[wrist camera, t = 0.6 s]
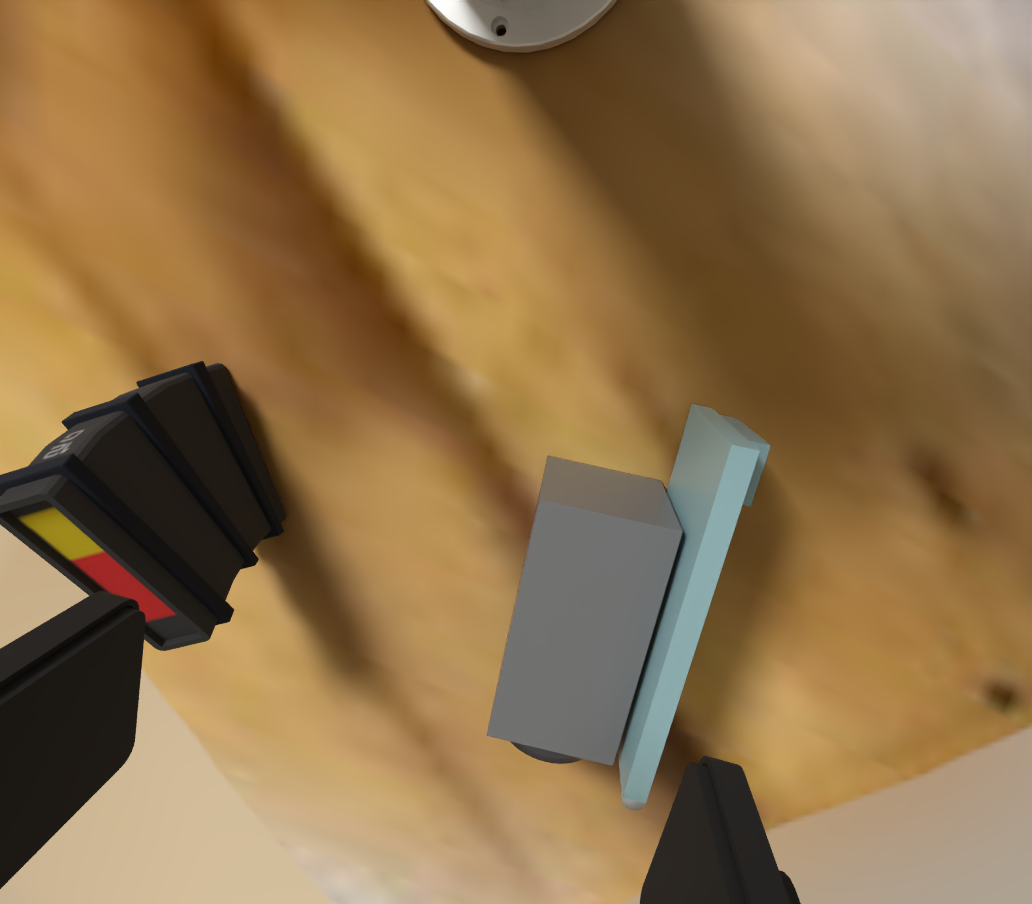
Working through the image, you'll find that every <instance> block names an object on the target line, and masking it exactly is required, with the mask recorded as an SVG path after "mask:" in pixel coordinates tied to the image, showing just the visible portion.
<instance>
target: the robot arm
mask: <svg viewBox="0 0 1032 904" xmlns="http://www.w3.org/2000/svg"><path fill="white" fill-rule="evenodd" d="M425 1H426V3H427V4H428V5H429V6H430V7H431V9H432V10H433V11H434V12H435V13H436V14H437V16H438V17H439V18H440V19H441V20H442V21H443V22H444V23H445V24H447V25H448V26H449V27H450V28H452V29H453V30H454V31H455V32H457V33H458V34H459V35H461V36H462V37H464V38H466V39H468V40H470V41H472V42H474V43H476V44H478V45H480V46H483V47H487V48H491V49H495V50H499V51H503V52H525V53H528V52H533V51H538V50H544V49H549V48H552V47H555V46H557V45H559V44H562V43H564V42H567V41H569V40H571V39H574V38H575V37H577V36H578V35H579V34H581V33H582V32H584V31H585V30H587V29H588V28H590V27H591V26H593V25H594V24H595V23H596V22H597V21H598V20H599V19H600V18H601V17H602V16H603V15H604V14H605V13H606V12H607V11H608V10H610V9H611V8H612V7H613V5H614V4H615V3H616V1H617V0H425ZM501 28H504V29H505V30H506V34H504V35H503V36H498V35H497V32H498V30H499V29H501ZM145 622H146V618H145V614H144V612H142V611H139V605H138V602H137V601H135V600H134V599H130V598H127V597H123V596H119V595H116V594H112V593H108V592H105V591H99V592H96V593H94V594H92V595H90V596H89V597H87V598H85V599H84V600H82V601H80V602H79V603H77V604H75V605H74V606H72V607H70V608H68V609H67V610H65V611H63V612H62V613H60V614H58V615H57V616H55V617H53V618H52V619H50V620H48V621H47V622H45V623H43V624H41V625H40V626H38V627H36V628H35V629H33V630H31V631H30V632H28V633H26V634H25V635H23V636H21V637H19V638H18V639H16V640H15V641H13V642H11V643H9V644H8V645H6V646H4V647H3V648H1V649H0V889H1V888H2V887H3V886H4V885H5V884H6V883H7V882H8V880H10V879H11V878H12V877H13V876H14V875H15V874H16V872H18V871H19V870H20V869H21V868H22V867H23V866H24V865H25V864H26V863H27V862H28V861H29V859H31V858H32V856H34V855H35V854H36V853H37V851H38V850H39V849H41V848H42V847H43V845H44V844H45V843H46V842H47V841H48V840H49V839H50V838H51V837H52V836H53V835H54V834H55V833H56V832H57V831H58V830H59V829H60V828H61V827H62V826H63V825H64V824H65V823H66V822H67V821H68V820H69V819H70V818H71V817H72V816H73V815H74V814H75V813H76V812H77V811H78V810H79V809H80V808H81V807H82V806H83V805H84V804H85V803H86V802H87V801H88V800H89V799H90V798H91V797H92V796H93V795H94V794H95V793H96V792H97V791H98V790H99V789H100V788H101V787H102V786H103V785H104V784H105V783H106V782H107V781H108V780H109V779H110V778H111V777H112V776H113V775H114V774H115V773H116V772H117V771H118V770H119V769H120V768H121V767H122V766H123V764H124V763H125V762H126V760H127V759H128V757H129V755H130V754H131V752H132V749H133V746H134V742H135V734H136V723H137V711H138V700H139V688H140V678H141V667H142V655H143V644H144V633H145ZM640 904H801V903H800V901H799V898H798V895H797V893H796V890H795V888H794V885H793V884H792V882H791V879H790V878H789V877H788V876H787V875H786V874H785V873H784V872H783V871H779V870H778V867H777V864H776V861H775V858H774V856H773V853H772V850H771V847H770V844H769V841H768V839H767V836H766V833H765V830H764V827H763V824H762V822H761V819H760V816H759V813H758V810H757V807H756V805H755V802H754V799H753V796H752V793H751V791H750V788H749V785H748V782H747V779H746V776H745V774H744V771H743V769H742V767H741V766H739V765H737V764H733V763H730V762H726V761H723V760H719V759H715V758H712V757H708V756H704V757H702V759H701V760H700V762H699V764H697V763H694V762H690V763H689V764H688V766H687V768H686V771H685V773H684V776H683V779H682V782H681V784H680V787H679V790H678V792H677V795H676V798H675V800H674V803H673V806H672V809H671V811H670V814H669V817H668V819H667V822H666V825H665V827H664V830H663V833H662V836H661V838H660V841H659V844H658V846H657V849H656V852H655V854H654V857H653V860H652V863H651V865H650V868H649V871H648V873H647V876H646V879H645V881H644V884H643V887H642V891H641V897H640Z"/></svg>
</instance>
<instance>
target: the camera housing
mask: <svg viewBox="0 0 1032 904" xmlns="http://www.w3.org/2000/svg"><path fill="white" fill-rule="evenodd" d="M682 532H683V531H682V529H681V526H680V524H679V522H678V519H677V517H676V514H675V512H674V510H673V507H672V505H671V503H670V500H669V498H668V496H667V493H666V491H665V489H664V486H663V484H662V482H661V481H660V480H656V479H651V478H647V477H642V476H638V475H633V474H629V473H624V472H620V471H615V470H610V469H606V468H601V467H597V466H592V465H588V464H583V463H579V462H574V461H570V460H565V459H561V458H556V457H551V456H548V457H547V461H546V466H545V470H544V475H543V479H542V484H541V488H540V493H539V497H538V502H537V506H536V511H535V515H534V520H533V524H532V529H531V533H530V538H529V542H528V547H527V551H526V556H525V560H524V565H523V569H522V573H521V578H520V582H519V587H518V591H517V596H516V600H515V605H514V609H513V614H512V618H511V623H510V627H509V632H508V636H507V641H506V645H505V650H504V654H503V659H502V664H501V669H500V674H499V678H498V683H497V688H496V693H495V698H494V703H493V707H492V712H491V717H490V722H489V727H488V732H487V736H490V737H494V738H499V739H503V740H507V741H510V742H511V743H512V744H513V745H514V746H515V747H517V748H518V749H519V750H520V751H522V752H524V753H525V754H527V755H529V756H531V757H533V758H536V759H538V760H541V761H545V762H550V763H558V764H563V763H572V762H576V761H579V760H581V759H585V760H589V761H594V762H598V763H602V764H606V765H610V766H613V763H614V760H615V757H616V753H617V750H618V747H619V743H620V740H621V737H622V733H623V730H624V727H625V723H626V720H627V717H628V713H629V710H630V706H631V703H632V700H633V696H634V693H635V690H636V686H637V683H638V680H639V676H640V673H641V670H642V666H643V663H644V660H645V656H646V653H647V650H648V646H649V643H650V640H651V636H652V633H653V629H654V626H655V623H656V619H657V616H658V613H659V609H660V606H661V603H662V599H663V596H664V593H665V589H666V586H667V583H668V579H669V576H670V573H671V569H672V566H673V562H674V559H675V556H676V552H677V549H678V546H679V542H680V539H681V536H682Z"/></svg>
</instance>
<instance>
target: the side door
mask: <svg viewBox="0 0 1032 904" xmlns="http://www.w3.org/2000/svg"><path fill="white" fill-rule="evenodd" d="M770 447H771V445H770V444H768V443H767V442H766V441H765V440H763V439H762V438H761V437H760V436H759V435H757V434H756V433H755V432H754V431H752V430H751V429H750V428H749V427H748V426H746V425H745V424H744V423H743V422H742V421H740V420H739V419H738V418H734V417H729V416H725V415H720V414H718V413H717V412H716V411H715V410H714V409H713V408H709V407H704V406H700V405H695V404H692V405H691V408H690V412H689V415H688V419H687V423H686V426H685V430H684V433H683V437H682V440H681V444H680V447H679V451H678V454H677V458H676V461H675V465H674V468H673V472H672V475H671V479H670V482H669V486H668V489H667V496H668V498H669V500H670V503H671V505H672V507H673V510H674V512H675V514H676V517H677V519H678V522H679V524H680V526H681V529H682V531H683V532H682V536H681V539H680V542H679V546H678V549H677V552H676V556H675V559H674V562H673V566H672V569H671V573H670V576H669V579H668V583H667V586H666V589H665V593H664V596H663V599H662V603H661V606H660V609H659V613H658V616H657V619H656V623H655V626H654V629H653V633H652V636H651V640H650V643H649V646H648V650H647V653H646V656H645V660H644V663H643V666H642V670H641V673H640V676H639V680H638V683H637V686H636V690H635V693H634V696H633V700H632V703H631V706H630V710H629V713H628V717H627V720H626V723H625V727H624V730H623V733H622V737H621V740H620V743H619V747H618V757H619V768H620V780H621V792H622V802H623V804H624V806H625V807H626V808H628V809H630V810H639V809H641V808H643V807H644V806H645V804H646V801H647V798H648V795H649V792H650V789H651V786H652V782H653V779H654V776H655V773H656V770H657V767H658V764H659V761H660V758H661V755H662V752H663V749H664V745H665V742H666V739H667V736H668V733H669V730H670V727H671V724H672V721H673V718H674V715H675V711H676V708H677V705H678V702H679V699H680V696H681V693H682V690H683V687H684V684H685V681H686V677H687V674H688V671H689V668H690V665H691V662H692V659H693V656H694V653H695V650H696V647H697V644H698V640H699V637H700V634H701V631H702V628H703V625H704V622H705V619H706V616H707V613H708V610H709V606H710V603H711V600H712V597H713V594H714V591H715V588H716V585H717V582H718V579H719V576H720V573H721V569H722V566H723V563H724V560H725V557H726V554H727V551H728V548H729V545H730V542H731V539H732V535H733V532H734V529H735V526H736V523H737V520H738V517H739V514H740V511H741V508H742V505H745V506H749V507H751V505H752V502H753V499H754V496H755V493H756V489H757V486H758V483H759V480H760V477H761V474H762V471H763V468H764V465H765V462H766V459H767V456H768V453H769V450H770Z"/></svg>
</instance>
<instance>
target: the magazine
mask: <svg viewBox="0 0 1032 904" xmlns="http://www.w3.org/2000/svg"><path fill="white" fill-rule="evenodd" d="M136 383H137V385H138V387H139V388H138V389H135V390H133V391H130V392H127V393H125V394H122V395H120V396H118V397H116V398H115V399H113V400H112V401H108V402H105V403H102V404H99V405H96V406H93V407H90V408H87V409H83V410H80V411H77V412H74V413H73V414H71V415H70V416H69V417H67V418H66V419H64V420H63V421H62V423H63V425H64V426H65V427H66V428H67V429H68V431H66V432H65V433H64V434H62V435H61V436H59V437H58V438H57V439H55V440H54V441H52V442H51V443H50V444H48V445H47V446H46V447H45V448H44V449H43V450H42V451H41V452H40V453H39V455H38V456H37V457H36V458H35V459H34V460H33V461H32V462H31V463H30V465H29V466H28V467H25V468H22V469H18V470H15V471H12V472H9V473H5V474H2V475H0V525H2V526H3V527H4V528H6V529H7V530H8V531H9V532H10V533H12V534H13V535H14V536H16V537H17V538H18V539H19V540H21V541H22V542H23V543H24V544H26V545H27V546H28V547H29V548H30V549H32V550H33V551H34V552H36V553H37V554H38V555H39V556H40V557H42V558H43V559H44V560H45V561H47V562H48V563H49V564H51V565H52V566H53V567H54V568H56V569H57V570H58V571H59V572H61V573H62V574H63V575H64V576H66V577H67V578H68V579H69V580H71V581H72V582H73V583H74V584H76V585H77V586H78V587H79V588H81V589H82V590H83V591H84V592H86V593H87V594H88V595H89V596H90V595H92V594H94V593H96V592H99V591H105V592H108V593H112V594H116V595H119V596H123V597H127V598H130V599H134V600H135V601H137V602H138V605H139V611H142V612H144V614H145V618H146V622H145V633H144V639H145V640H146V641H147V642H148V643H150V644H151V645H152V646H153V647H155V648H156V649H158V650H160V651H167V650H171V649H175V648H179V647H184V646H188V645H192V644H196V643H201V642H205V641H208V640H209V639H210V637H211V635H212V632H213V630H214V627H215V625H219V624H223V623H227V622H230V620H231V617H232V614H233V612H234V609H233V608H232V607H231V606H230V605H229V604H228V603H227V602H226V601H225V600H226V598H227V595H228V593H229V590H230V588H231V585H232V583H233V580H234V579H235V577H236V575H237V574H238V572H239V571H240V569H243V568H247V567H251V566H255V565H256V563H257V562H258V560H259V559H258V557H257V556H256V555H255V553H254V552H253V550H254V549H255V547H256V546H257V545H258V544H259V542H260V541H261V540H263V539H266V538H270V537H274V536H278V535H280V534H281V533H283V532H284V529H283V527H282V525H281V522H283V521H284V520H285V518H286V517H285V513H284V510H283V508H282V505H281V503H280V500H279V498H278V496H277V493H276V491H275V488H274V486H273V483H272V481H271V478H270V476H269V474H268V471H267V469H266V466H265V464H264V461H263V459H262V456H261V454H260V452H259V449H258V447H257V444H256V442H255V439H254V437H253V434H252V432H251V430H250V427H249V425H248V422H247V420H246V417H245V415H244V412H243V410H242V408H241V405H240V403H239V400H238V398H237V395H236V393H235V390H234V388H233V386H232V383H231V381H230V378H229V376H228V373H227V371H226V368H225V367H224V365H223V364H218V363H217V364H213V365H210V366H207V367H206V366H205V364H204V362H203V361H201V362H197V363H194V364H190V365H187V366H184V367H181V368H178V369H175V370H172V371H169V372H165V373H162V374H159V375H156V376H153V377H150V378H147V379H144V380H141V381H138V382H136Z"/></svg>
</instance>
